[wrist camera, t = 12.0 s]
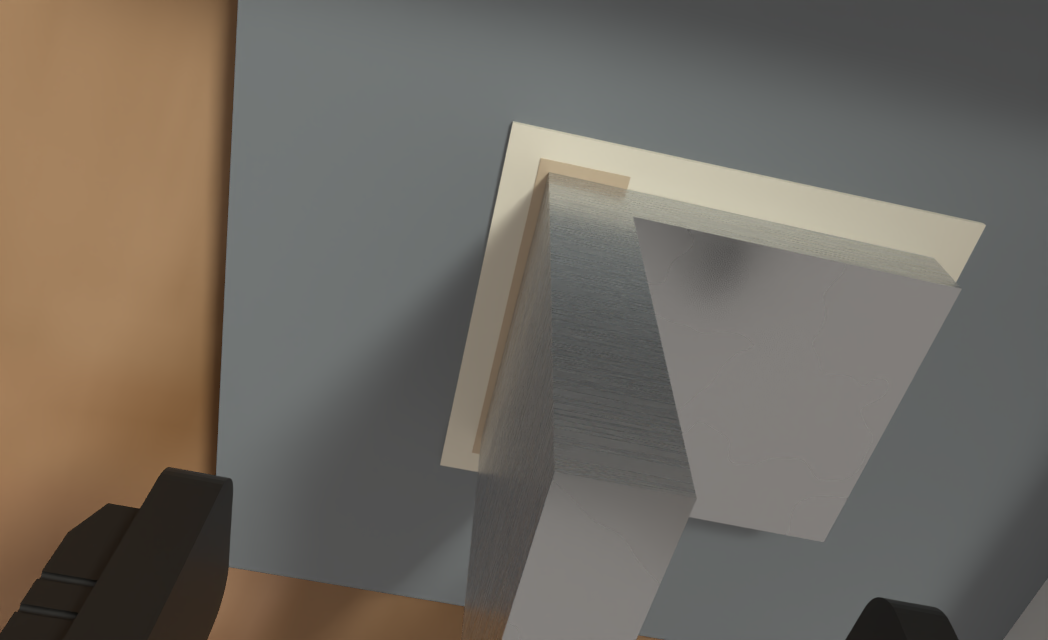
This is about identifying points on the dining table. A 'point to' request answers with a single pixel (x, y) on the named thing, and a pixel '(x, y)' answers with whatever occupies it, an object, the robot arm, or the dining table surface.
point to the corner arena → (652, 168)
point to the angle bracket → (677, 398)
